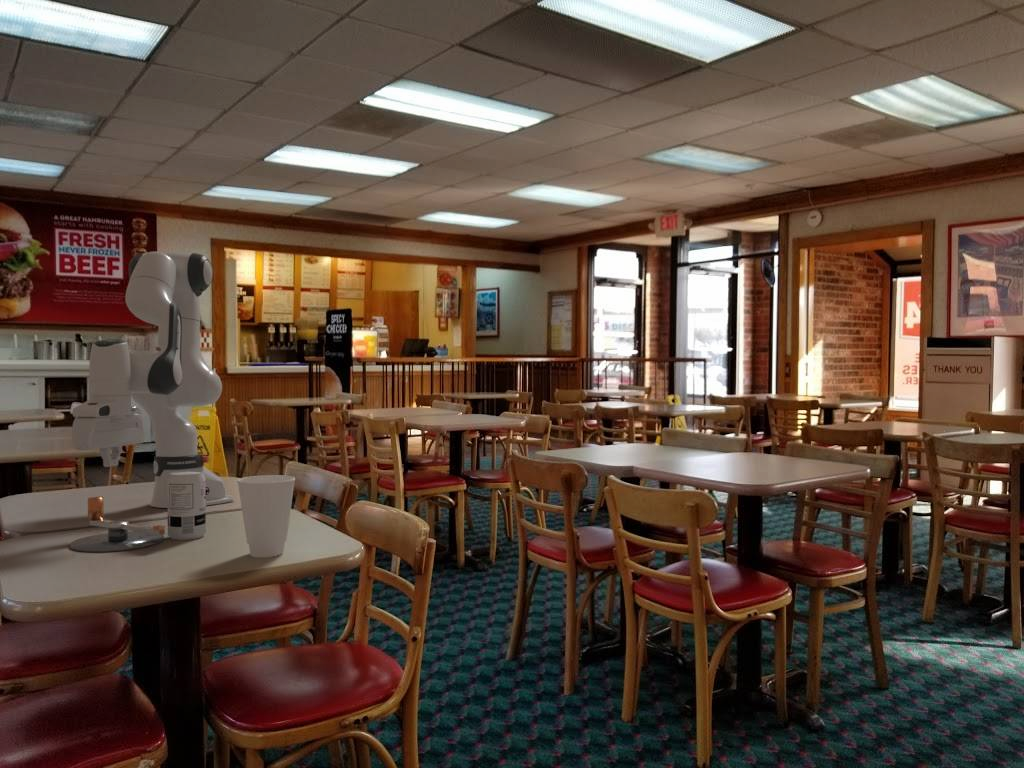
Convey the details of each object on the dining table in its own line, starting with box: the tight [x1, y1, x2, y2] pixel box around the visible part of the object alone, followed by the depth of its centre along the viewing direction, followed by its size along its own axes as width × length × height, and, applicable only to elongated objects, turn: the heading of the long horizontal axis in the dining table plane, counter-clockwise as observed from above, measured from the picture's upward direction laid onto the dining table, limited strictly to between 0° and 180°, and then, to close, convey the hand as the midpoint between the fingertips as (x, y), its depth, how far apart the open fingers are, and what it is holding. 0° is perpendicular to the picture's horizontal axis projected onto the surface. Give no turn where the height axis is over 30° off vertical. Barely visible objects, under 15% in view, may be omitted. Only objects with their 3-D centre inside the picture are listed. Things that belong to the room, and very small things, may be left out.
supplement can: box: [167, 471, 207, 541], centre depth 189 cm, size 8×8×15 cm
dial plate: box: [69, 529, 165, 553], centre depth 183 cm, size 19×19×3 cm
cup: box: [236, 474, 296, 558], centre depth 172 cm, size 12×12×16 cm
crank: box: [87, 496, 166, 535], centre depth 181 cm, size 25×4×6 cm, turn 61°
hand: (110, 466), depth 191 cm, fingers closed
